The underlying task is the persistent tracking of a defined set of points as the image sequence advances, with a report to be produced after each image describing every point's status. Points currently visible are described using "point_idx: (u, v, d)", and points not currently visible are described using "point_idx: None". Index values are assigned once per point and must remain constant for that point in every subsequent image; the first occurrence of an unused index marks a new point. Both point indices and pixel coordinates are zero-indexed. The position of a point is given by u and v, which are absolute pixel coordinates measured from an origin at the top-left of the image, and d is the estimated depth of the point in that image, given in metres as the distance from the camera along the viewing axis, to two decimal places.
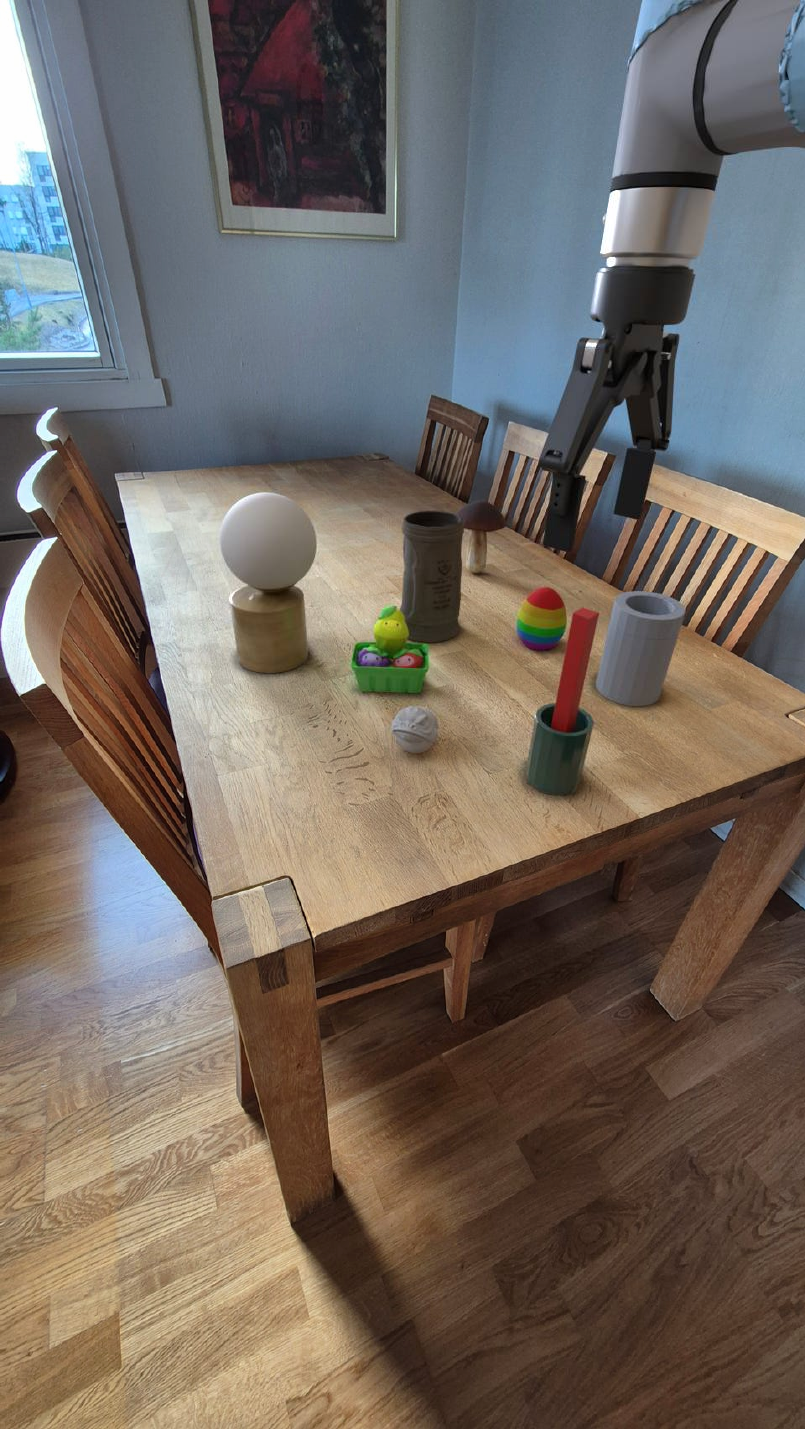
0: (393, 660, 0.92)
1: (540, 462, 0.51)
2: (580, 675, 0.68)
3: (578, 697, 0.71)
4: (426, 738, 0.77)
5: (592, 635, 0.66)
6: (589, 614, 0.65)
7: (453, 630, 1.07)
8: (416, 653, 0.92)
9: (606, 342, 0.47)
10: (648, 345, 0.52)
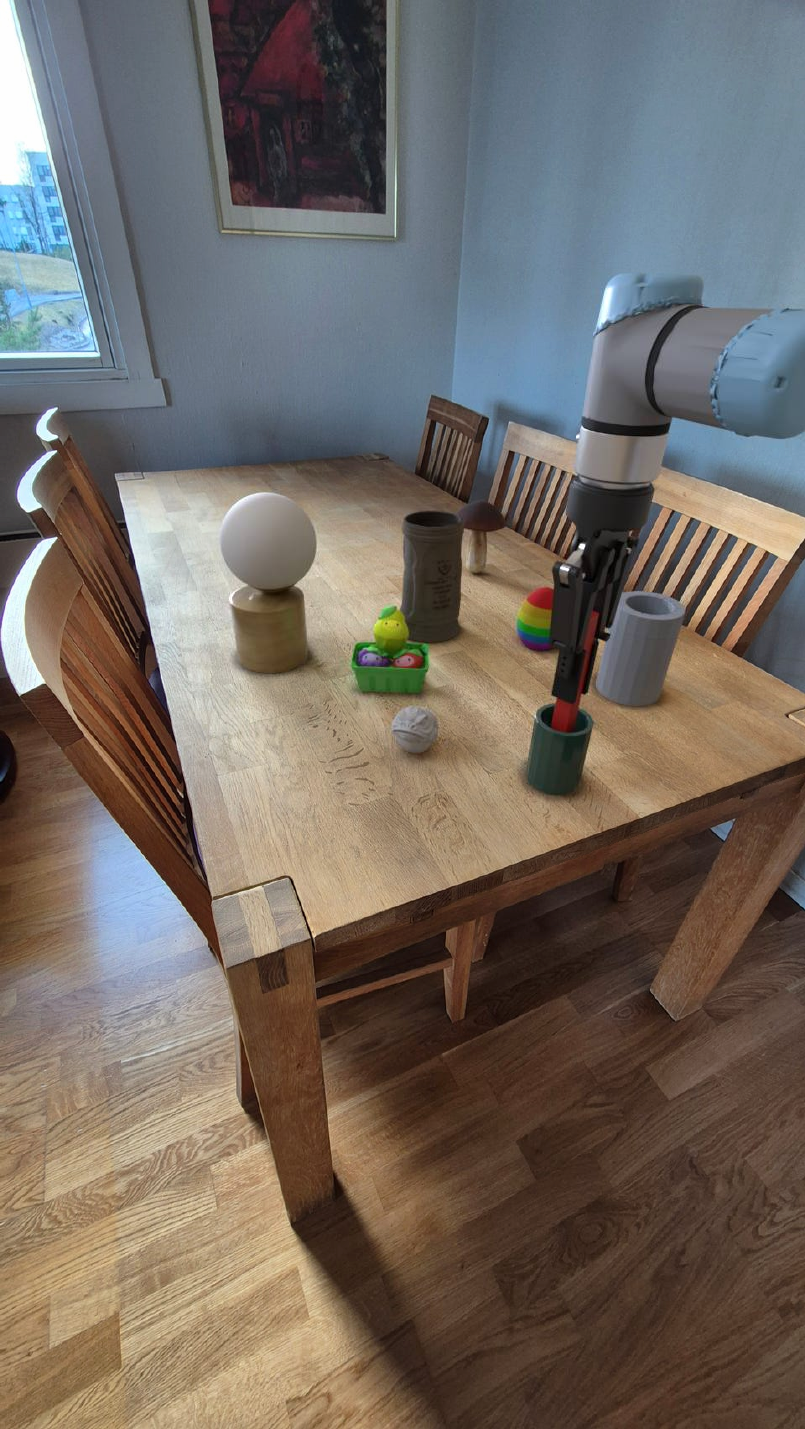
0: (393, 660, 0.92)
1: (550, 646, 0.64)
2: None
3: (578, 697, 0.71)
4: (426, 738, 0.77)
5: (592, 635, 0.66)
6: None
7: (453, 630, 1.07)
8: (416, 653, 0.92)
9: (574, 574, 0.57)
10: (616, 537, 0.60)
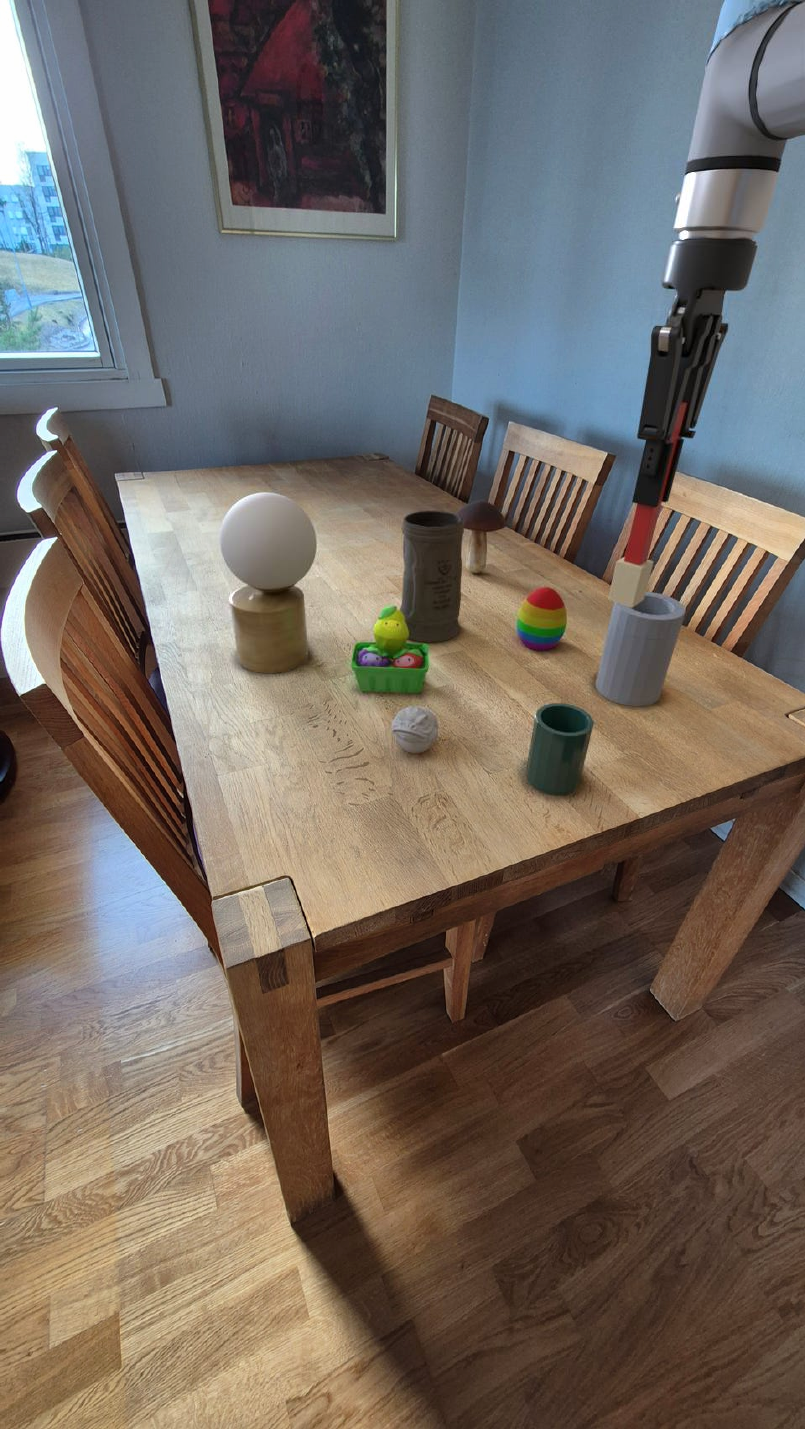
0: (393, 660, 0.92)
1: (639, 434, 0.63)
2: None
3: (659, 504, 0.70)
4: (426, 738, 0.77)
5: (678, 429, 0.65)
6: None
7: (453, 630, 1.07)
8: (416, 653, 0.92)
9: (676, 333, 0.56)
10: (712, 310, 0.60)
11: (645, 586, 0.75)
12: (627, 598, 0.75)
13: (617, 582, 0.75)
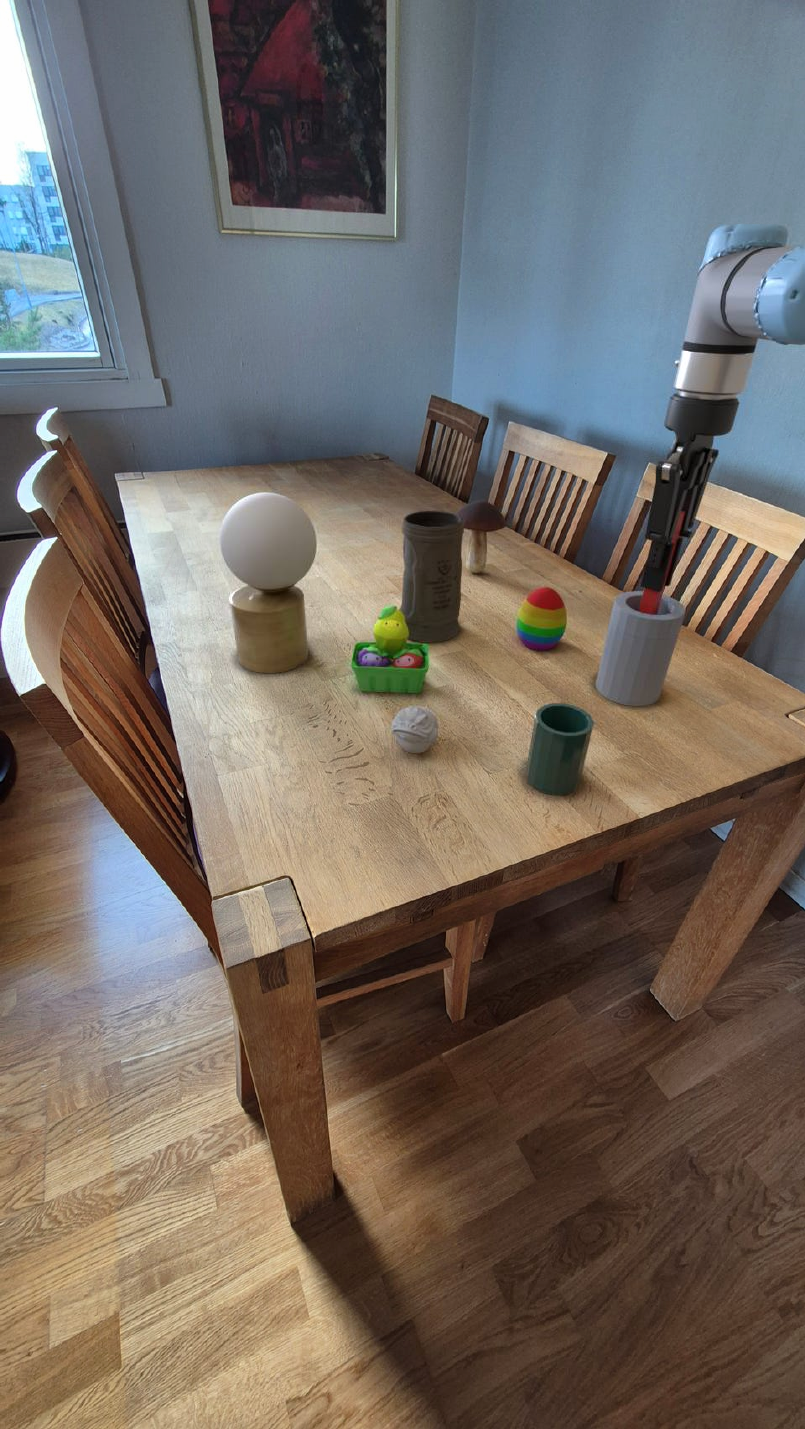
0: (394, 660, 0.92)
1: (646, 538, 0.79)
2: None
3: (662, 588, 0.85)
4: (426, 738, 0.77)
5: (678, 531, 0.81)
6: None
7: (453, 630, 1.07)
8: (416, 653, 0.92)
9: (675, 469, 0.72)
10: (704, 445, 0.75)
11: None
12: None
13: None
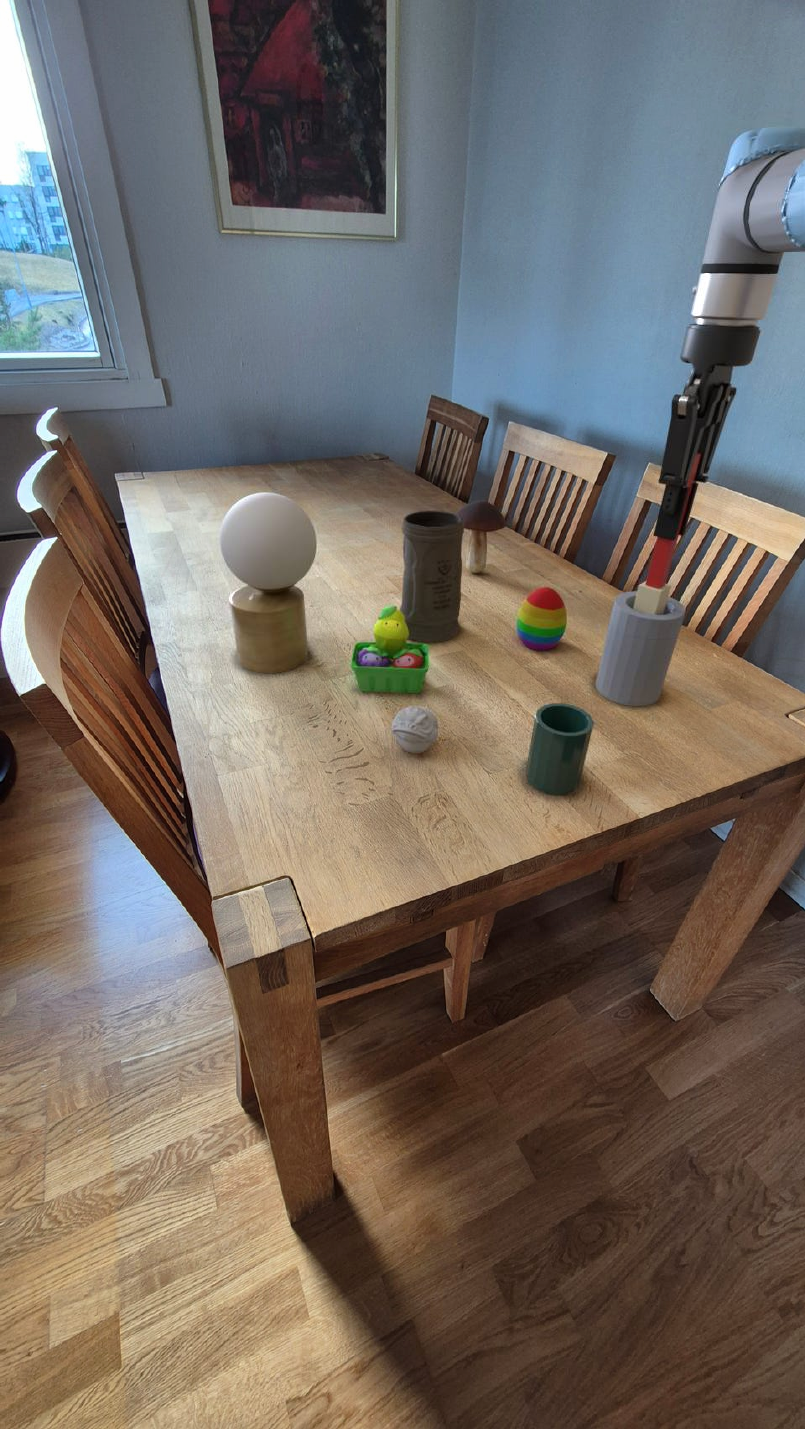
0: (393, 660, 0.92)
1: (660, 480, 0.75)
2: None
3: (676, 537, 0.81)
4: (426, 738, 0.77)
5: (693, 475, 0.77)
6: None
7: (453, 630, 1.07)
8: (416, 653, 0.92)
9: (693, 401, 0.68)
10: (722, 379, 0.71)
11: (663, 606, 0.87)
12: None
13: (639, 603, 0.86)
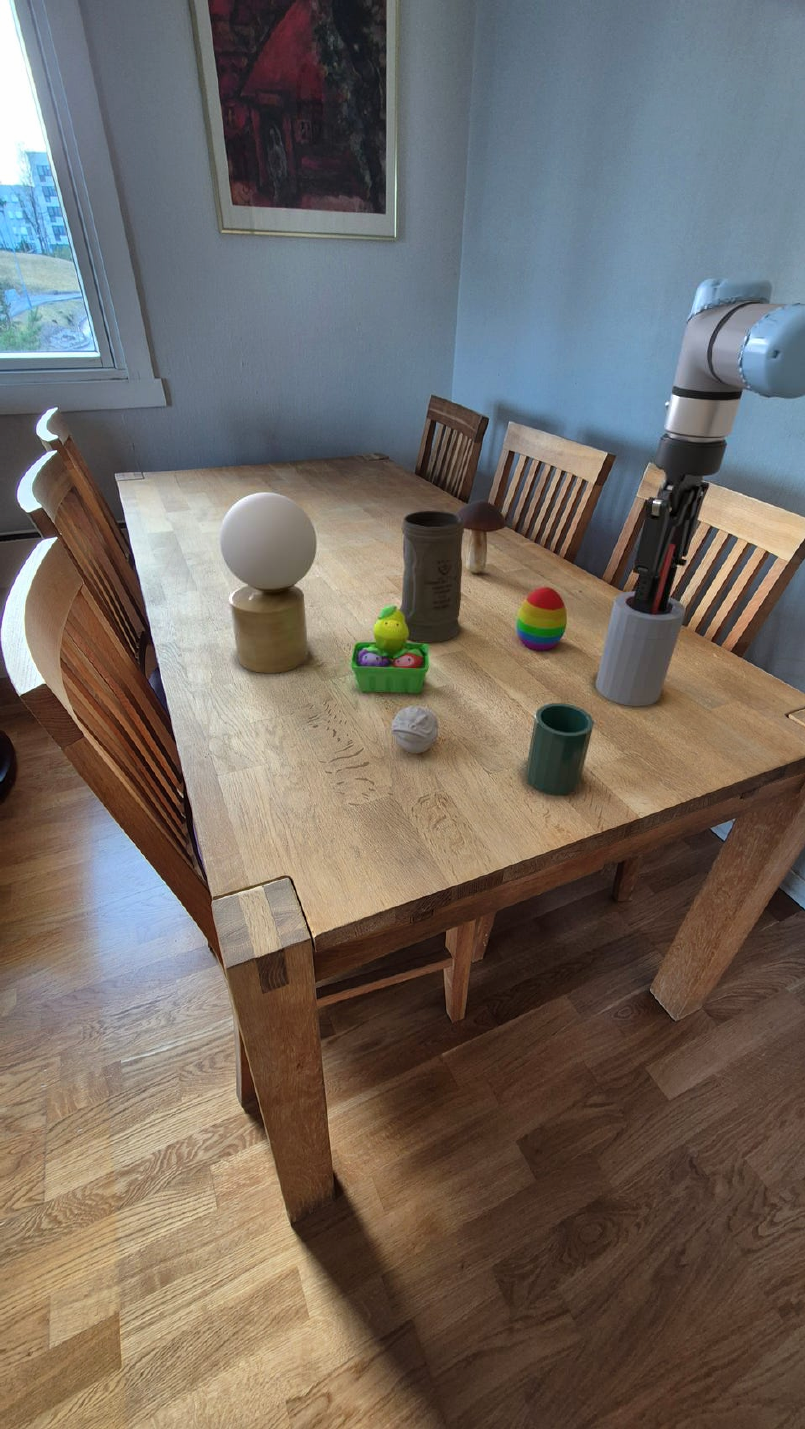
0: (393, 660, 0.92)
1: (634, 571, 0.81)
2: (657, 596, 0.86)
3: None
4: (426, 738, 0.77)
5: (669, 563, 0.84)
6: None
7: (453, 630, 1.07)
8: (416, 653, 0.92)
9: (666, 505, 0.74)
10: (694, 483, 0.78)
11: None
12: None
13: None
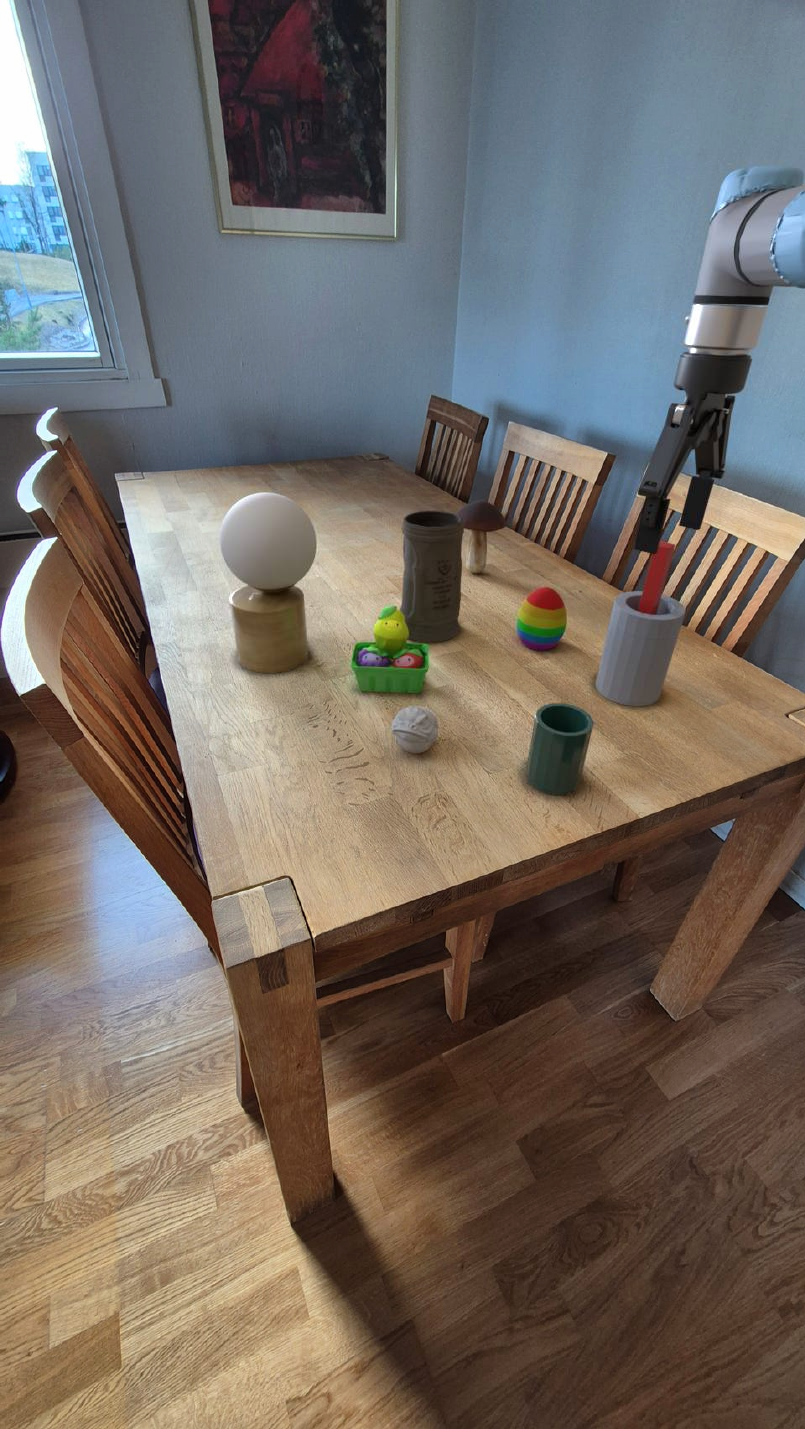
0: (393, 660, 0.92)
1: (640, 489, 0.72)
2: (657, 596, 0.86)
3: None
4: (426, 738, 0.77)
5: (669, 563, 0.84)
6: (668, 545, 0.82)
7: (453, 630, 1.07)
8: (416, 653, 0.92)
9: (691, 407, 0.68)
10: (715, 406, 0.73)
11: None
12: None
13: None
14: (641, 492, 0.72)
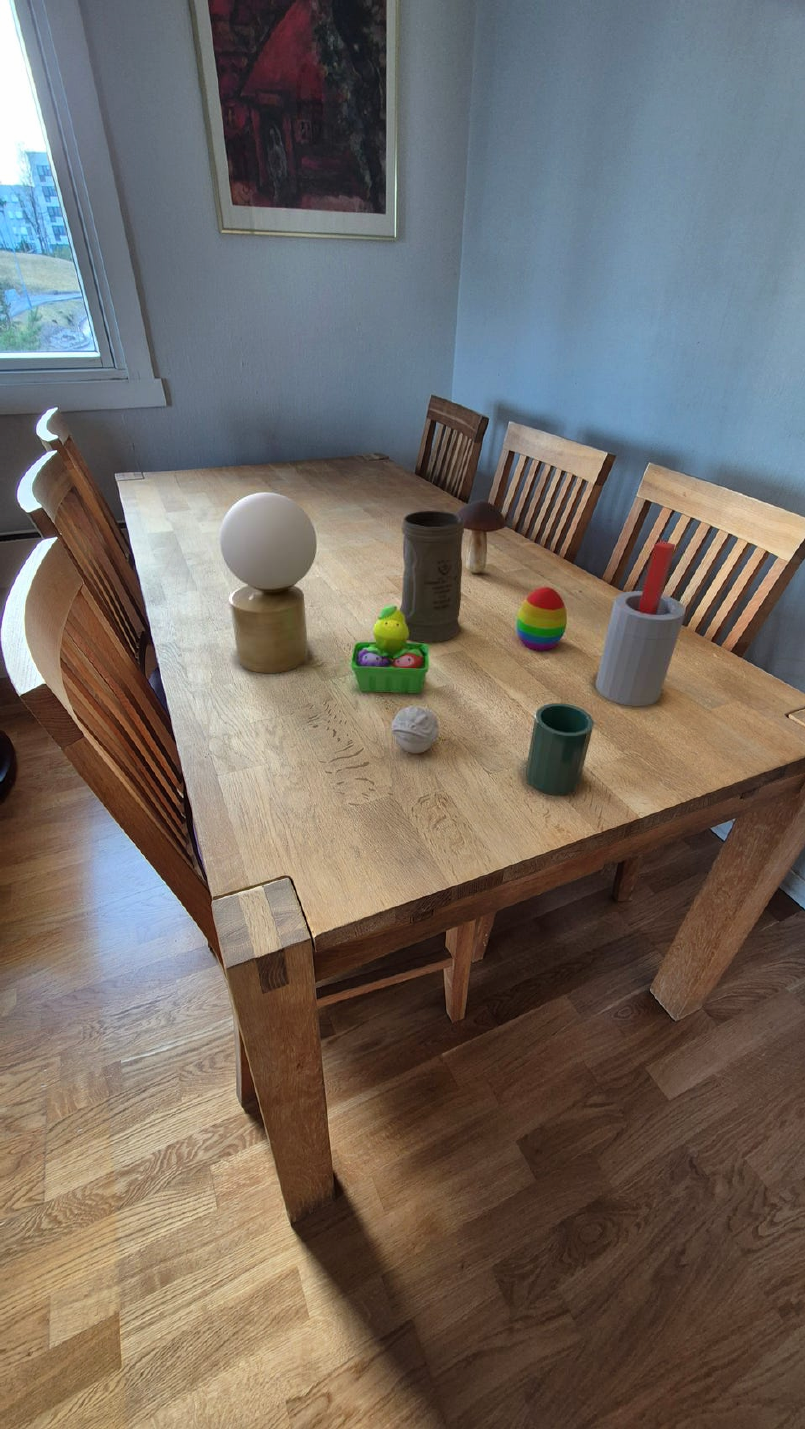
0: (394, 660, 0.92)
1: None
2: (657, 596, 0.86)
3: None
4: (426, 738, 0.77)
5: (669, 563, 0.84)
6: (668, 545, 0.82)
7: (453, 630, 1.07)
8: (416, 653, 0.92)
9: None
10: None
11: None
12: None
13: None
14: None
